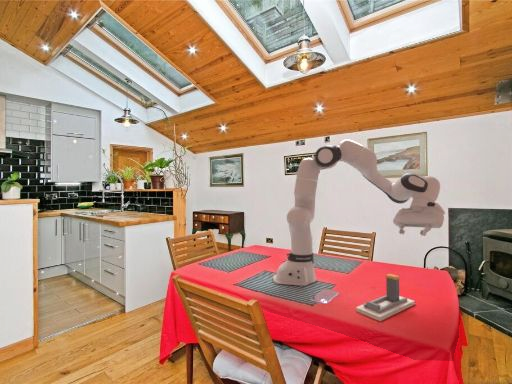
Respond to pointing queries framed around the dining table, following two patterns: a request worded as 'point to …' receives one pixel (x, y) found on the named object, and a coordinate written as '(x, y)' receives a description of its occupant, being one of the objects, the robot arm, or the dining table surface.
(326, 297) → the mobile phone
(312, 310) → the dining table surface
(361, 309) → the switch plate
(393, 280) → the switch tab
